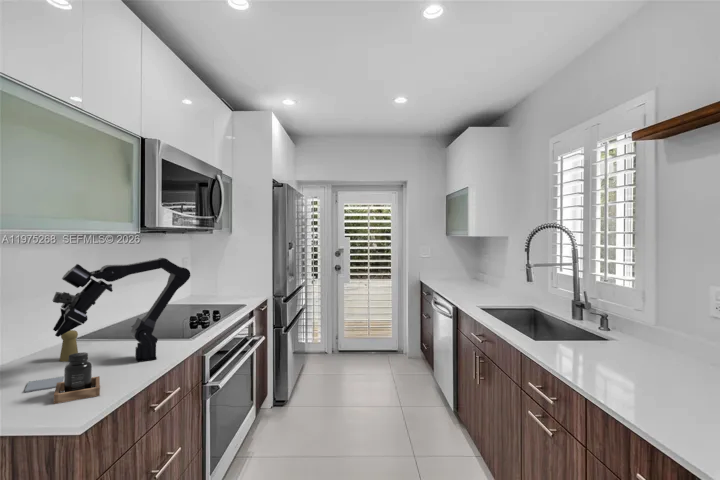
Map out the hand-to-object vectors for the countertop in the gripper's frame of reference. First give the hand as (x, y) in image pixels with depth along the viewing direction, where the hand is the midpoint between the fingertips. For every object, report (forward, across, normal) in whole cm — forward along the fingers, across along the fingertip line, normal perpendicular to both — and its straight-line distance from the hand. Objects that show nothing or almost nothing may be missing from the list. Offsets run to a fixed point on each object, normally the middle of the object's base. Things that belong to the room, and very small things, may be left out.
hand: (55, 333), depth 133 cm
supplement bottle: (+9, +23, +12) cm, 28 cm away
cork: (+8, -17, +13) cm, 23 cm away
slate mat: (+13, +9, +6) cm, 17 cm away
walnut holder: (+9, +23, +12) cm, 27 cm away
